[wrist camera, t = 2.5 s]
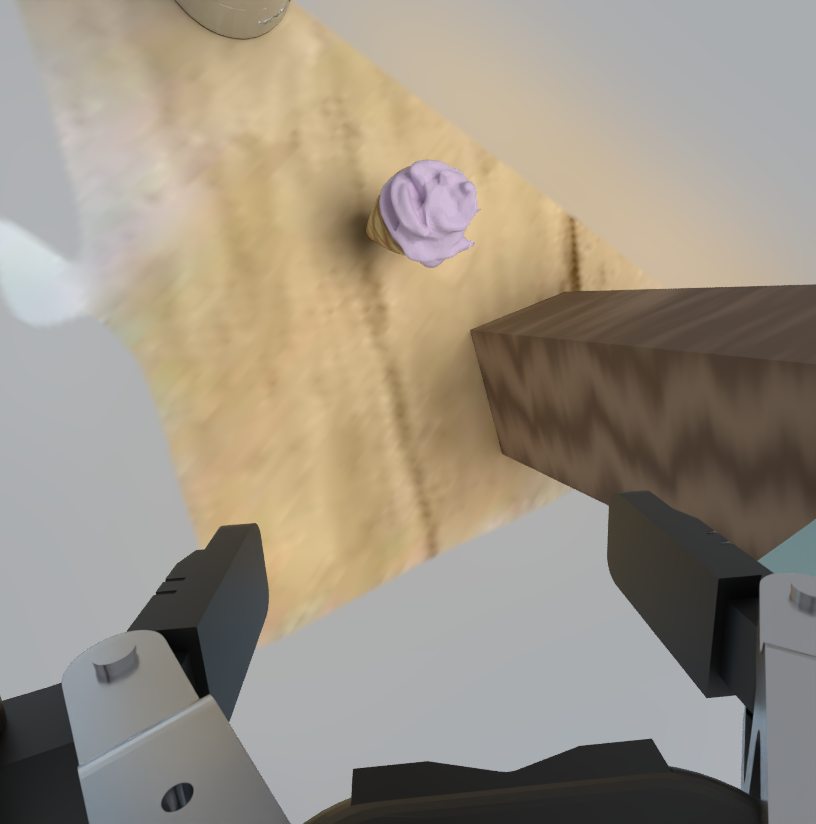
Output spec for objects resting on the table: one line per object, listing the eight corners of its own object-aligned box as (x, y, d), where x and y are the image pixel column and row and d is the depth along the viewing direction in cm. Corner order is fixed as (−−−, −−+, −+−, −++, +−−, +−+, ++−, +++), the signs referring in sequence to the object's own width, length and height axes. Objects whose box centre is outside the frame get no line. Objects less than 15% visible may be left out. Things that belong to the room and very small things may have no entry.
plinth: (470, 330, 49) (866, 369, 20) (565, 291, 53) (1016, 278, 24) (502, 453, 54) (863, 629, 25) (587, 410, 57) (989, 520, 28)
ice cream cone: (421, 246, 45) (518, 221, 32) (371, 289, 44) (450, 283, 31) (377, 180, 43) (464, 123, 29) (323, 224, 42) (387, 186, 28)
